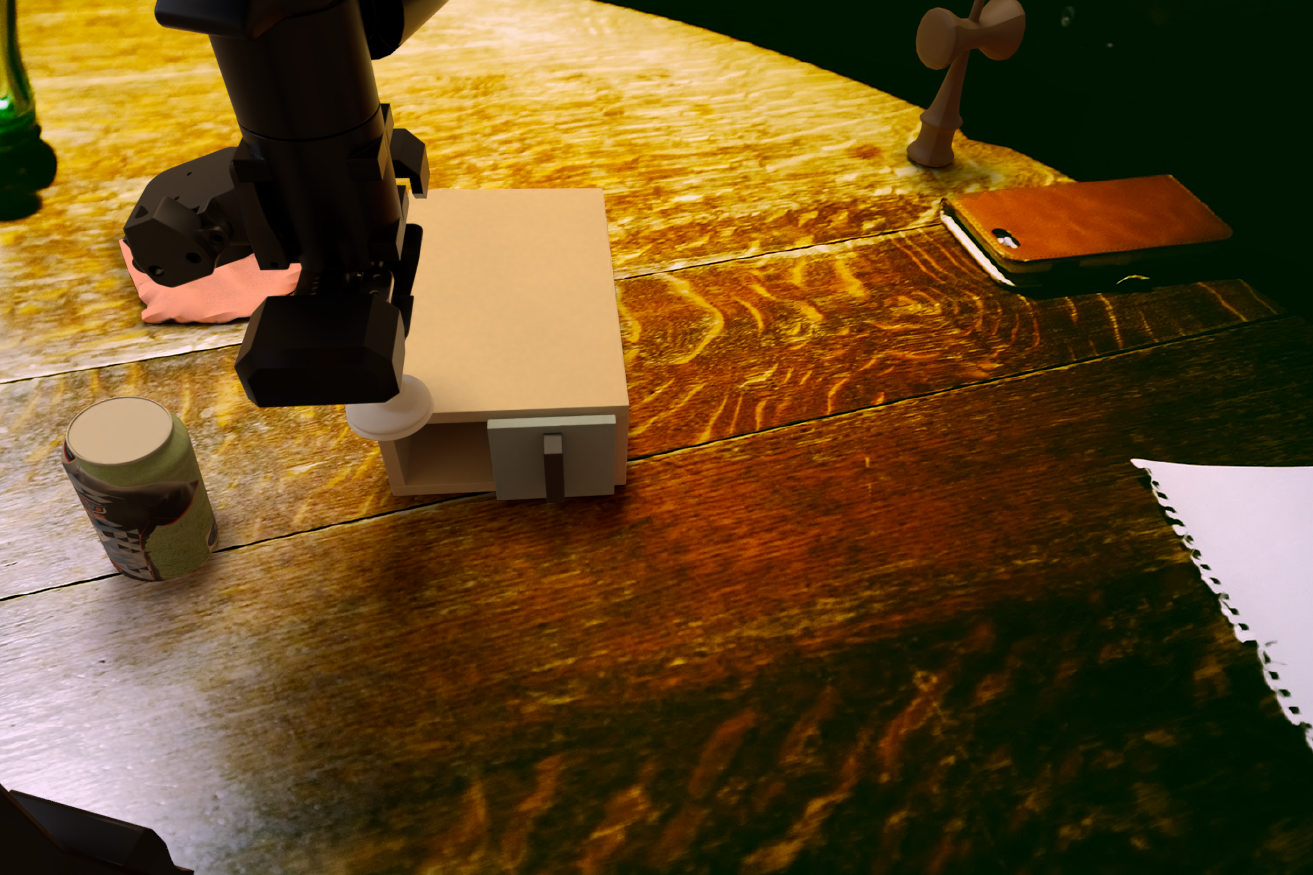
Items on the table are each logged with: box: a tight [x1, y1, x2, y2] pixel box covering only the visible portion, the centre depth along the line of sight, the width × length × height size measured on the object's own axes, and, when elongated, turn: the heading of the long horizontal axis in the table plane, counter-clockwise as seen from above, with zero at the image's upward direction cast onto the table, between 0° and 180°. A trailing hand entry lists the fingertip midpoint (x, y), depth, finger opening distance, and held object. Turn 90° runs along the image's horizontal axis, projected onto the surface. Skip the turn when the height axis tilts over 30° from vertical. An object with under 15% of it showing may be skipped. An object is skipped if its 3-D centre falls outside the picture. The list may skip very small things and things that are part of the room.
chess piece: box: [344, 274, 434, 442], centre depth 44 cm, size 5×5×10 cm
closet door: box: [487, 415, 616, 505], centre depth 54 cm, size 3×8×7 cm, turn 96°
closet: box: [377, 187, 630, 497], centre depth 63 cm, size 26×16×8 cm, turn 6°
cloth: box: [118, 238, 302, 325], centre depth 74 cm, size 20×22×2 cm
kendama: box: [906, 0, 1026, 168], centre depth 85 cm, size 6×10×20 cm, turn 117°
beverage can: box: [60, 395, 219, 583], centre depth 48 cm, size 6×7×12 cm
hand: (382, 377), depth 46 cm, fingers closed on chess piece
